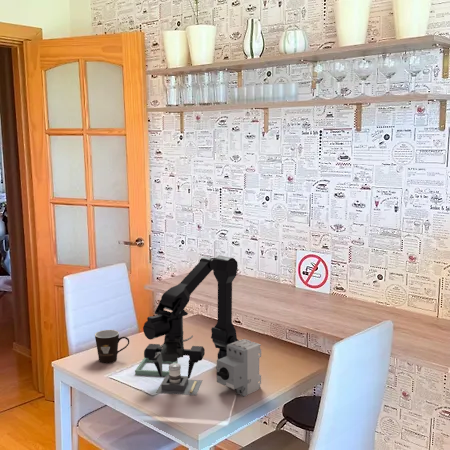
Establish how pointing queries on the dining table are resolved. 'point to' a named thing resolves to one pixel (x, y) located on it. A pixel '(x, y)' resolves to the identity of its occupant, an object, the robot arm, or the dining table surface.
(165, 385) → the board
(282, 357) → the dining table surface
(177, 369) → the white banded cylinder
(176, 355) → the robot arm
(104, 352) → the coffee mug
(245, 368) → the circuit breaker
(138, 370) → the parts tray
